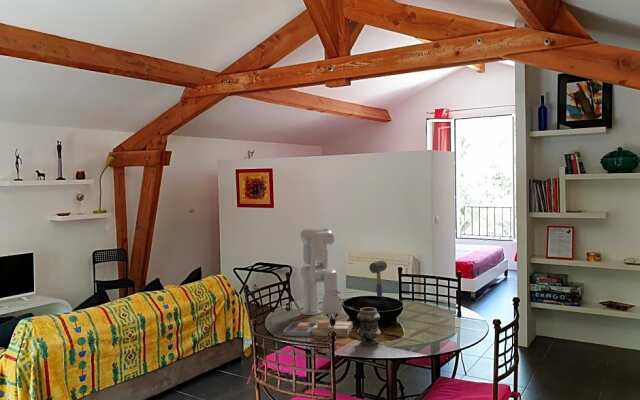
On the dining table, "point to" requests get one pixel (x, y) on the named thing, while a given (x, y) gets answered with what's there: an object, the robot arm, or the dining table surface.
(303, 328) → the tile
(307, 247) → the robot arm
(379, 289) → the rubber mallet
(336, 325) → the cream slotted tray
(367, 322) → the apothecary jar
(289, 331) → the tray
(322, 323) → the tile
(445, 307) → the dining table surface
